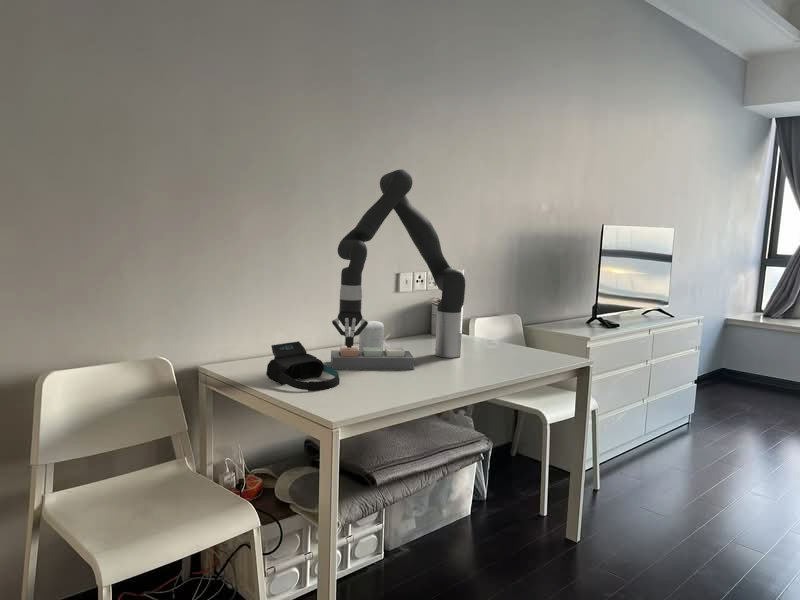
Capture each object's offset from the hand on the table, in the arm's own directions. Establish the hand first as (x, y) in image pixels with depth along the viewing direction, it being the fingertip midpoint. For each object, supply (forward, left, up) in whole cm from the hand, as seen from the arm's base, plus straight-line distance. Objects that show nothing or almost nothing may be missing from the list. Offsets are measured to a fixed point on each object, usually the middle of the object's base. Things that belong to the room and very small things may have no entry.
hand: (349, 347), depth 218 cm
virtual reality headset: (+15, +23, -7) cm, 28 cm away
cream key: (-16, 0, -3) cm, 16 cm away
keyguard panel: (-8, 0, -6) cm, 10 cm away
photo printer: (-10, -21, -7) cm, 24 cm away
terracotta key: (0, 0, -3) cm, 3 cm away
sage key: (-8, 0, -3) cm, 9 cm away
